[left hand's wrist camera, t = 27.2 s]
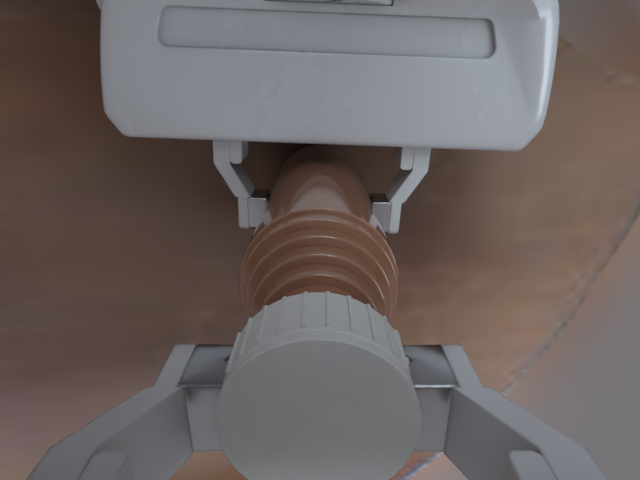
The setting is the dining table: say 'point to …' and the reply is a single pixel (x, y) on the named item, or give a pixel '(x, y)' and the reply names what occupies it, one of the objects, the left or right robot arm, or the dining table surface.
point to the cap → (318, 393)
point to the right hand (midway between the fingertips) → (319, 227)
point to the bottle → (319, 237)
